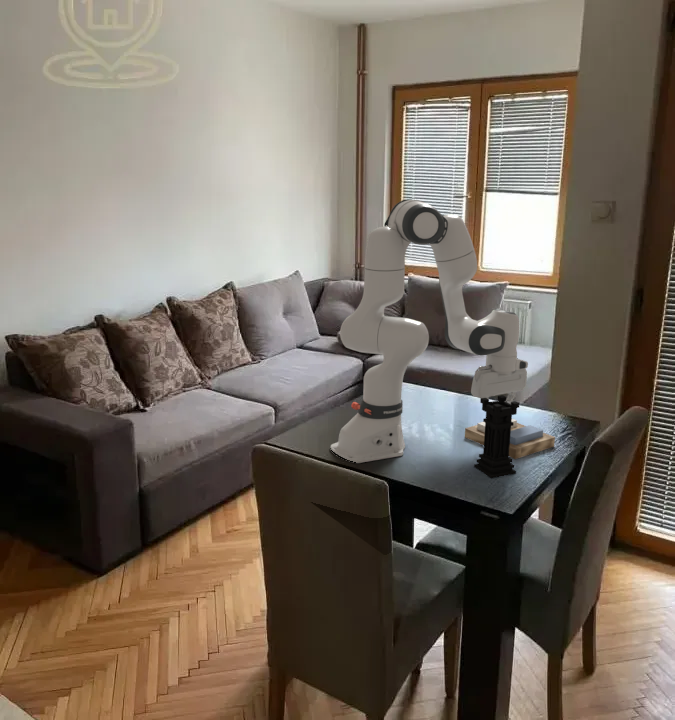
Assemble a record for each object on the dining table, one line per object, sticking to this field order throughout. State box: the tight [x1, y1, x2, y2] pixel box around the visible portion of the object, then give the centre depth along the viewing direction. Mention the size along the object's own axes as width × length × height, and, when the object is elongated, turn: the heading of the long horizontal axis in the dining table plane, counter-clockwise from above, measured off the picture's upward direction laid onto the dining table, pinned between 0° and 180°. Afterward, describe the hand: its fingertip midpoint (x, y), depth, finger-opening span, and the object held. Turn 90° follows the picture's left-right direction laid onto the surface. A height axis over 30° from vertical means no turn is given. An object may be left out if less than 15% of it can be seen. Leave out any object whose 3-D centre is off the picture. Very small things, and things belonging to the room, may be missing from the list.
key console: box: [464, 422, 556, 460], centre depth 205 cm, size 17×20×3 cm
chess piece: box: [473, 394, 520, 479], centre depth 182 cm, size 8×8×20 cm
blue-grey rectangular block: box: [510, 425, 544, 445], centre depth 200 cm, size 12×5×3 cm, turn 125°
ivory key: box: [476, 418, 518, 433], centre depth 208 cm, size 12×5×3 cm, turn 125°
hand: (497, 407), depth 206 cm, fingers open, 8 cm apart
